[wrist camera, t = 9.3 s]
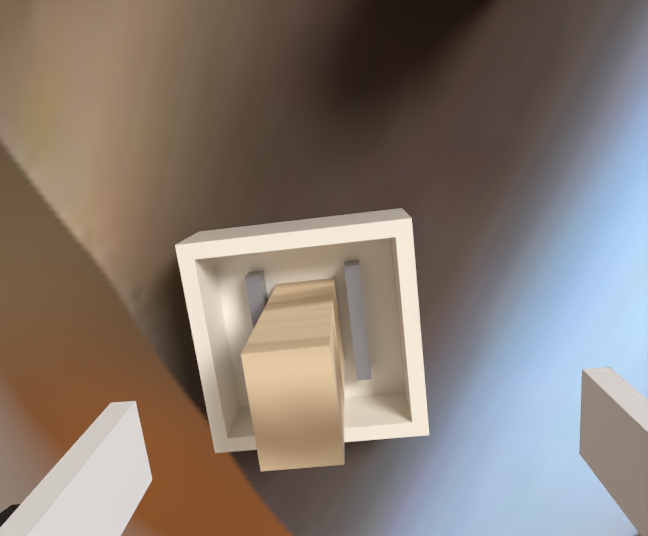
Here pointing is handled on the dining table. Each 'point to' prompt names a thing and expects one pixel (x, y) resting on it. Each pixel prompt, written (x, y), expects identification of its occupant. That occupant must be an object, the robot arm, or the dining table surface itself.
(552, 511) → the dining table surface
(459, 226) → the dining table surface
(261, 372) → the light wood block
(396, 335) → the white slotted box
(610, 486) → the robot arm
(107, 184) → the dining table surface
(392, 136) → the dining table surface
